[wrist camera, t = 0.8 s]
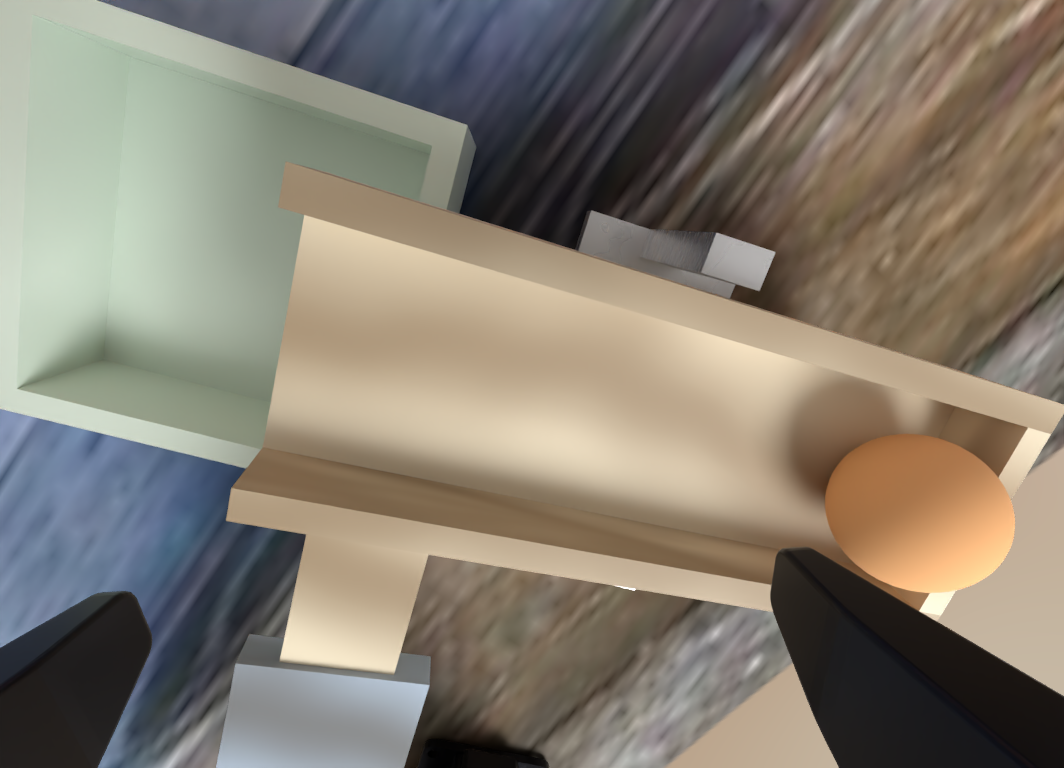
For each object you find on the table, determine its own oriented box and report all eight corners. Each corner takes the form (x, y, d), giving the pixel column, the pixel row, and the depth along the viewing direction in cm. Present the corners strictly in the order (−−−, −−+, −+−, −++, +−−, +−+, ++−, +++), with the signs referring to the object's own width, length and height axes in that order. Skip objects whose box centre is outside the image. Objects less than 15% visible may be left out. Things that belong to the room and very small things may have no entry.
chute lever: (707, 711, 24) (786, 867, 18) (252, 659, 20) (172, 842, 14) (887, 347, 19) (1067, 406, 14) (346, 176, 15) (285, 161, 9)
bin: (400, 446, 22) (374, 499, 18) (94, 367, 21) (-13, 405, 17) (476, 146, 19) (467, 125, 15) (122, 29, 18) (-1, -33, 13)
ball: (882, 543, 17) (1004, 640, 13) (772, 519, 16) (869, 616, 12) (945, 429, 16) (1097, 498, 12) (832, 396, 15) (956, 461, 11)
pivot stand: (642, 488, 23) (702, 606, 16) (510, 454, 23) (511, 561, 16) (734, 258, 21) (854, 278, 14) (587, 210, 20) (632, 204, 13)
